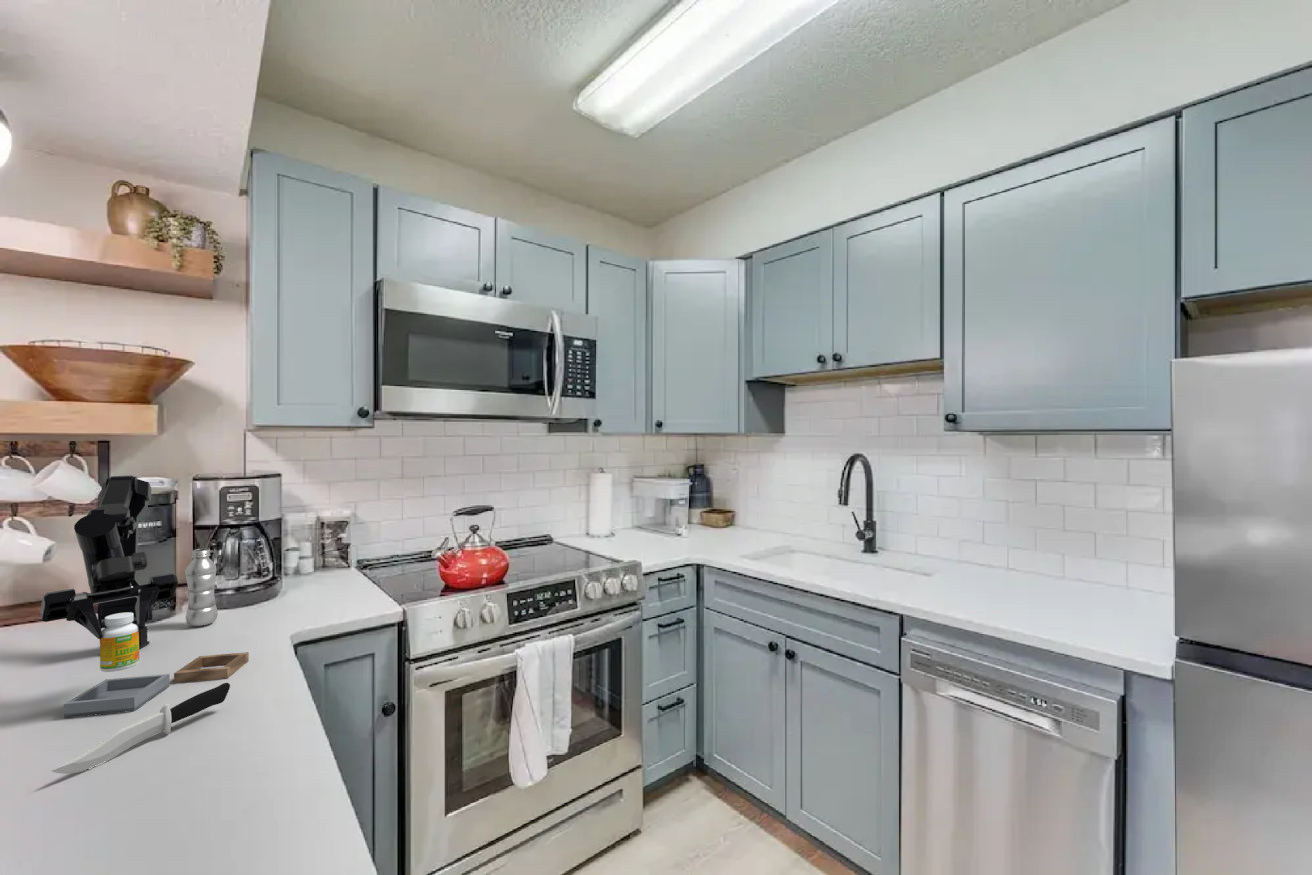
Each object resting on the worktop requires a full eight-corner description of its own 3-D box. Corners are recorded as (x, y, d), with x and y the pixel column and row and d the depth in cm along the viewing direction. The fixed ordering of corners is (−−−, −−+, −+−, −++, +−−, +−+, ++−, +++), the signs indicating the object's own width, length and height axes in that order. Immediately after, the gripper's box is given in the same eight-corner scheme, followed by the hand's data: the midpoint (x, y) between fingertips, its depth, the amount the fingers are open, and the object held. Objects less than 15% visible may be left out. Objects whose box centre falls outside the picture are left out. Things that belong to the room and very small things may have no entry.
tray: (63, 718, 101) (63, 703, 101) (106, 692, 111) (105, 679, 111) (134, 711, 103) (134, 697, 103) (169, 686, 114) (169, 673, 114)
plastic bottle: (223, 622, 154) (223, 548, 154) (196, 630, 147) (195, 553, 147) (207, 620, 156) (206, 546, 156) (179, 627, 149) (178, 551, 149)
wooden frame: (174, 683, 115) (174, 673, 115) (199, 665, 124) (199, 656, 124) (227, 678, 117) (227, 668, 117) (248, 661, 127) (248, 652, 127)
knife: (55, 787, 81) (55, 752, 81) (47, 785, 81) (47, 750, 81) (232, 707, 105) (232, 680, 105) (225, 706, 105) (225, 679, 105)
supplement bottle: (115, 673, 104) (114, 620, 104) (92, 671, 106) (91, 619, 105) (146, 662, 110) (146, 611, 110) (124, 660, 111) (123, 610, 111)
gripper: (42, 548, 102) (55, 622, 96) (174, 533, 117) (193, 596, 111) (35, 585, 107) (46, 658, 100) (163, 566, 122) (180, 628, 116)
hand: (121, 633), depth 107 cm, fingers closed on supplement bottle, 5 cm apart
